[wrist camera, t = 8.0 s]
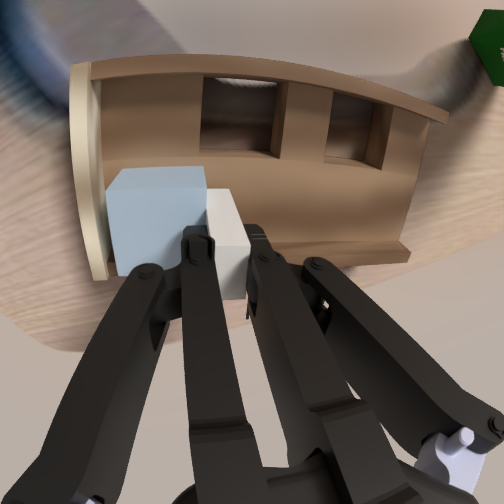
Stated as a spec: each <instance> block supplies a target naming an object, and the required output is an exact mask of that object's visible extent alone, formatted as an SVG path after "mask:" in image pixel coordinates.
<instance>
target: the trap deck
mask: <svg viewBox="0 0 504 504" xmlns="http://www.w3.org/2000/svg"><path fill="white" fill-rule="evenodd" d="M204 77H212V78H232V79H246V80H257V81H266V82H274V83H277V90H276V99H275V108H274V117H273V126H272V135H271V144H270V151H261V150H239V149H199V143H200V123H201V106H202V92H203V79H204ZM333 93H338V94H342V95H346V96H351V97H355V98H359V99H362V100H366V101H370V102H374V103H375V104H374V110H373V116H372V123H371V128H370V134H369V140H368V145H367V150H366V155H365V160H364V161H359V160H352V159H345V158H338V157H329V156H324V153H325V147H326V141H327V135H328V128H329V121H330V114H331V107H332V100H333ZM448 118H449V112H447V111H445V110H443V109H441V108H438V107H436V106H434V105H432V104H429V103H427V102H425V101H422V100H420V99H417V98H415V97H412V96H410V95H407V94H405V93H402V92H399V91H397V90H394V89H391V88H388V87H385V86H382V85H379V84H376V83H373V82H370V81H366V80H363V79H360V78H356V77H353V76H349V75H345V74H341V73H337V72H333V71H329V70H325V69H320V68H315V67H311V66H306V65H300V64H295V63H289V62H283V61H276V60H269V59H261V58H251V57H242V56H227V55H208V54H169V55H149V56H136V57H126V58H117V59H110V60H103V61H96V62H84V63H78V64H74V65H71V71H70V138H71V153H72V164H73V174H74V183H75V190H76V198H77V204H78V210H79V216H80V222H81V227H82V232H83V237H84V242H85V247H86V251H87V256H88V260H89V264H90V268H91V272H92V276H93V280H94V281H97V280H108V278H109V276H118V271H117V266H116V261H115V256H114V250H113V245H112V239H111V232H110V226H109V219H108V211H107V203H106V194H105V191H106V190H107V188H108V187H109V186H110V184H111V183H112V182H113V180H114V179H115V178H116V176H117V175H118V174H119V173H120V171H121V170H122V169H129V168H148V167H178V166H203V167H204V173H205V179H206V185H207V189H229V190H230V192H231V195H232V198H233V200H234V203H235V205H236V208H237V211H238V213H239V216H240V219H241V221H242V224H257V225H259V226H260V227H261V228H263V230H264V232H265V235H266V236H267V239H268V240H269V242H270V244H271V246H272V248H273V250H274V251H277V252H279V253H280V254H282V256H283V257H284V258H285V260H286V262H287V263H291V264H297V265H303V262H304V260H305V259H306V258H308V257H315V256H316V257H322V258H324V259H327V260H328V261H330V262H331V263H332V264H333V265H335V266H336V267H346V266H362V265H378V264H392V263H407V262H408V259H409V257H410V254H411V252H410V251H409V250H408V249H407V248H406V247H405V246H404V245H403V244H402V243H400V242H399V241H398V240H399V237H400V234H401V231H402V228H403V225H404V222H405V219H406V216H407V212H408V209H409V206H410V202H411V199H412V195H413V192H414V188H415V184H416V181H417V177H418V173H419V169H420V165H421V160H422V156H423V152H424V147H425V142H426V137H427V132H428V127H429V121H430V120H433V121H437V122H440V123H443V124H446V125H447V124H448Z"/></svg>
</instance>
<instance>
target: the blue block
mask: <svg viewBox="0 0 504 504" xmlns="http://www.w3.org/2000/svg"><path fill="white" fill-rule="evenodd" d="M105 194H106V203H107V211H108V219H109V226H110V232H111V239H112V245H113V250H114V256H115V261H116V266H117V271H118V276H128V275H129V273H130V272H131V270H132V269H133V268H134V267H136V266H138V265H140V264H144V263H155V264H158V265H160V266H161V267H162V268H163V270H167V269H171V268H173V267H175V266H177V265H178V264H179V263H180V262H181V240H182V237H183V230H184V228H185V227H186V226H190V225H206V205H207V185H206V179H205V173H204V167H203V166H178V167H148V168H129V169H122V170H121V171H120V173H119V174H118V175H117V176H116V178H115V179H114V180H113V182H112V183H111V184H110V186H109V187H108V188H107V190H106V191H105Z"/></svg>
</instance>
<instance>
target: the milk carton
mask: <svg viewBox="0 0 504 504" xmlns="http://www.w3.org/2000/svg"><path fill="white" fill-rule="evenodd" d="M468 38H469V40H470V41H471V43H472V44H473V46H474V48H475V50H476V51H477V53H478V55H479V57H480V58H481V60H482V62H483V64H484V66H485V68H486V70H487V72H488V74H489V76H490V78H491V80H492V82H493V84H494V86H501V87H504V10H492V9H491V10H490V9H484V11H483V12H482V14H481V16H480V18H479V20H478V22H477V24H476V25H475V27H474V29H473V31H472V32H471V34H470V36H469V37H468Z"/></svg>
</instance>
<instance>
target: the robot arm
mask: <svg viewBox="0 0 504 504" xmlns="http://www.w3.org/2000/svg"><path fill="white" fill-rule="evenodd" d="M246 290H247V294H248V304H247V313H246V319H249V315H250V318H251V321H252V325H253V328H254V332H255V336H256V339H257V343H258V346H259V349H260V353H261V357H262V360H263V364H264V367H265V371H266V374H267V378H268V381H269V385H270V388H271V392H272V395H273V398H274V402H275V405H276V408H277V412H278V415H279V419H280V422H281V425H282V429H283V432H284V436H285V439H286V442H287V457H288V464H289V468H277V467H263V466H262V463H261V458H260V455H259V451H258V447H257V443H256V439H255V436H254V432H253V429H252V426H251V425H250V424H249V423H248V421H247V419H246V415H245V411H244V406H243V402H242V397H241V393H240V388H239V384H238V379H237V374H236V369H235V365H234V360H233V355H232V350H231V345H230V340H229V335H228V330H227V325H226V319H225V314H224V309H223V303H222V300H236V299H245V297H246ZM324 301H326V302H327V303H328V304H329V307H328V308H326V307H325V306H324V305H323V304H324ZM181 317H182V332H183V354H184V370H185V384H186V397H187V409H188V420H189V441H190V449H191V457H192V465H193V472H194V479H195V484H193V485H192V486H190V487H188V488H187V489H186V490H185V491H183V492H182V493H181V494H180V495H179V496H178V497H177V498H176V499H175V500H174V502H173V503H172V504H479V503H478V502H477V500H476V499H475V498H474V496H473V495H472V493H473V490H474V488H475V485H476V483H477V480H478V477H479V474H480V472H481V468H482V466H483V463H484V460H485V456H486V454H487V453H488V452H489V451H490V450H492V449H493V448H495V447H496V446H497V445H499V444H500V443H501V442H503V440H504V415H503V414H502V413H501V412H500V411H498V410H496V409H495V408H493V407H491V406H490V405H488V404H486V403H485V402H483V401H481V400H480V399H478V398H476V397H475V396H473V395H471V394H469V393H468V392H466V391H465V390H463V389H462V388H461V387H460V386H459V385H458V384H457V383H456V382H455V381H454V380H453V379H452V378H451V377H450V376H449V375H448V373H446V372H445V370H444V369H443V368H442V367H441V366H440V365H439V364H438V363H437V362H436V361H435V360H434V359H433V358H432V357H431V356H430V355H429V354H428V353H427V352H426V351H425V350H424V349H423V348H422V347H421V346H420V345H419V344H418V343H417V342H416V341H415V340H414V339H413V338H412V337H411V336H410V335H409V334H408V333H407V332H406V331H405V330H403V329H402V328H401V327H400V326H399V325H398V324H397V323H396V322H395V321H394V320H393V319H392V318H391V317H390V316H389V315H388V314H387V313H386V312H385V311H383V309H382V308H380V307H379V306H378V305H377V304H376V303H375V302H374V301H373V300H372V299H371V298H370V297H369V296H368V295H366V294H365V293H364V292H363V291H362V290H361V289H360V288H359V287H358V286H357V285H356V284H355V283H353V282H352V281H351V280H350V279H349V278H348V277H347V276H346V275H345V274H343V273H342V272H341V271H340V270H339V269H338V268H337V267H336V266H335V265H333V264H332V263H331V262H330V261H328V260H327V259H324V258H322V257H316V256H315V257H308V258H306V259H305V260H304V262H303V265H297V264H291V263H287V262H286V260H285V258H284V257H283V256H282V254H280V253H279V252H277V251H274V250H273V248H272V246H271V244H270V242H269V240H268V239H267V236H266V235H265V232H264V230H263V228H261V227H260V226H259V225H257V224H242V221H241V219H240V216H239V213H238V211H237V208H236V205H235V203H234V200H233V198H232V195H231V192H230V190H229V189H207V205H206V225H190V226H186V227H185V228H184V230H183V237H182V240H181V262H180V263H179V264H178V265H177V266H175V267H173V268H171V269H167V270H163V268H162V267H161V266H160V265H158V264H155V263H144V264H140V265H138V266H136V267H134V268H133V269H132V270H131V272H130V273H129V275H128V277H127V278H126V280H125V281H124V283H123V285H122V286H121V288H120V290H119V291H118V293H117V295H116V296H115V298H114V300H113V301H112V303H111V305H110V307H109V308H108V310H107V312H106V314H105V315H104V317H103V319H102V321H101V322H100V324H99V326H98V328H97V330H96V331H95V333H94V335H93V337H92V339H91V341H90V343H89V345H88V346H87V348H86V350H85V352H84V354H83V356H82V358H81V360H80V362H79V364H78V366H77V368H76V370H75V372H74V374H73V376H72V378H71V380H70V383H69V385H68V387H67V389H66V391H65V393H64V396H63V398H62V400H61V402H60V405H59V407H58V409H57V412H56V414H55V416H54V418H53V421H52V423H51V426H50V428H49V431H48V433H47V436H46V439H45V441H44V444H43V446H42V449H41V452H40V455H39V456H38V457H37V458H36V460H35V461H34V462H33V463H32V464H31V465H30V467H28V469H27V470H26V471H25V472H24V473H23V474H22V476H21V477H20V478H19V479H18V480H17V482H16V483H15V484H14V485H13V486H12V487H11V489H10V490H9V491H8V492H7V493H6V495H5V496H4V498H3V500H2V502H1V504H116V502H117V500H118V498H119V496H120V493H121V490H122V486H123V483H124V479H125V475H126V471H127V466H128V463H129V458H130V455H131V451H132V447H133V443H134V440H135V436H136V432H137V428H138V425H139V421H140V418H141V414H142V410H143V407H144V404H145V400H146V397H147V394H148V390H149V387H150V384H151V381H152V377H153V374H154V371H155V368H156V364H157V362H158V359H159V356H160V352H161V350H162V346H163V343H164V340H165V337H166V334H167V332H168V329H169V326H170V320H174V319H177V318H181ZM346 381H347V382H348V383H349V385H350V386H351V387H352V388H353V390H354V391H355V392H356V393H357V395H358V396H359V397H360V398H361V399H356V398H355V397H354V396H353V394H352V392H351V390H350V388H349V386H348V384H347V382H346ZM380 423H381V424H382V425H383V426H384V428H385V429H386V430H387V431H388V432H389V434H390V435H391V436H392V437H393V439H394V440H395V441H396V442H397V443H398V444H399V445H400V446H401V447H402V448H403V449H404V450H405V451H407V452H408V453H409V454H410V455H412V456H413V457H415V458H416V459H418V460H417V461H416V462H415V465H414V467H412V466H410V465H408V464H406V463H404V462H403V461H401V460H399V459H397V458H396V456H395V454H394V452H393V449H392V447H391V445H390V443H389V441H388V439H387V437H386V435H385V433H384V431H383V428H382V426H381V424H380Z"/></svg>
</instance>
